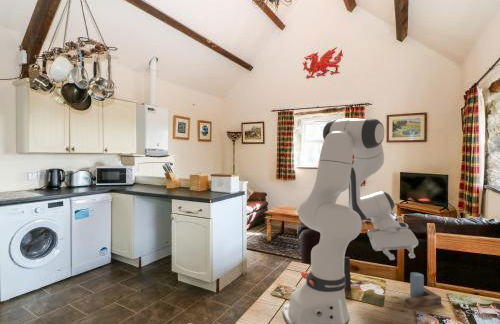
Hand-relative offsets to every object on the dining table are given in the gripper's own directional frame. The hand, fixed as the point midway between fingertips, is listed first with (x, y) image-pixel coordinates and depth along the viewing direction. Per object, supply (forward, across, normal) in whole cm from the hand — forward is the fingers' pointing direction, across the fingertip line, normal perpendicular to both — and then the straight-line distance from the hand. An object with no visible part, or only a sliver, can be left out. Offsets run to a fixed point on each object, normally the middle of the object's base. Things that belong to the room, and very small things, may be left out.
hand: (403, 258), depth 110 cm
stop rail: (+15, -2, +3) cm, 15 cm away
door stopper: (+3, -22, +15) cm, 27 cm away
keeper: (+14, 0, +4) cm, 14 cm away
